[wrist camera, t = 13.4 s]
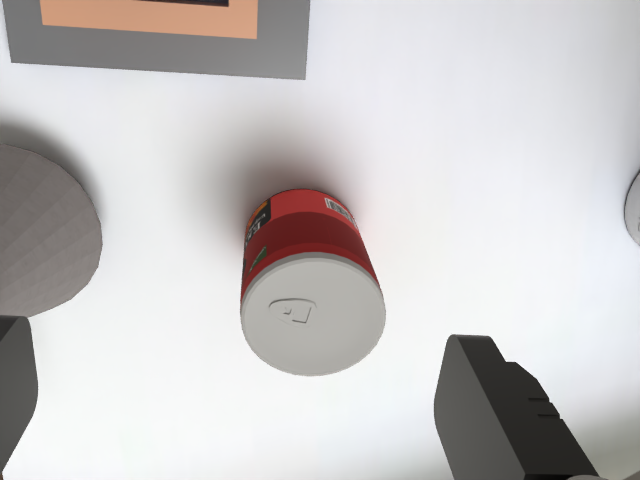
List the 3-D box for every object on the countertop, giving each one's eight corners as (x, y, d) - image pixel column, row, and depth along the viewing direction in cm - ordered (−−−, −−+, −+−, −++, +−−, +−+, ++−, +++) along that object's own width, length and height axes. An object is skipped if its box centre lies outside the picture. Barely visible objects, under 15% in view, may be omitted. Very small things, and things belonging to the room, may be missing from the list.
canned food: (242, 185, 39) (236, 259, 29) (359, 184, 40) (392, 255, 30) (246, 284, 42) (242, 381, 32) (354, 281, 43) (382, 375, 33)
